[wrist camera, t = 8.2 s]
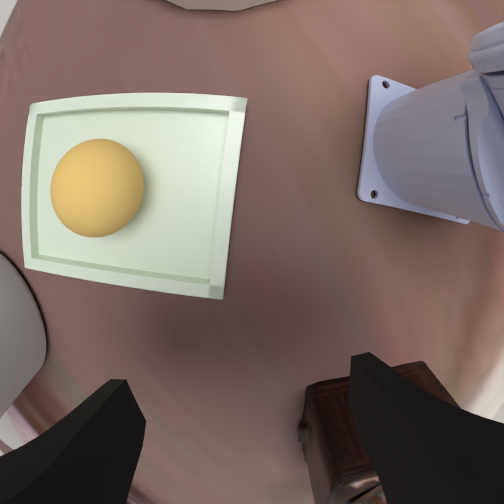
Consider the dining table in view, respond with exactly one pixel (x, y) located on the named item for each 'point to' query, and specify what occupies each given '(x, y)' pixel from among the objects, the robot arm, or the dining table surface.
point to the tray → (154, 193)
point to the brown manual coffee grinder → (347, 440)
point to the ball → (97, 188)
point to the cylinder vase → (18, 335)
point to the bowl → (219, 4)
